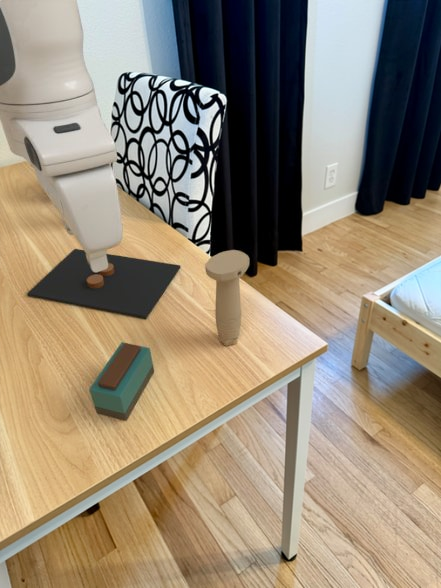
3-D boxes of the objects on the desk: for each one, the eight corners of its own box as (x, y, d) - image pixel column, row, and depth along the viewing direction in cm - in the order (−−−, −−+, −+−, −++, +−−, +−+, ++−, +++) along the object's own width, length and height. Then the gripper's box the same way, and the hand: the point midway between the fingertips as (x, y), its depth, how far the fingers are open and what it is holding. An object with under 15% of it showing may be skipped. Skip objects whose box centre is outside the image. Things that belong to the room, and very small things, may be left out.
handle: (253, 337, 69) (256, 259, 60) (224, 357, 66) (221, 278, 56) (233, 323, 72) (232, 246, 62) (203, 341, 68) (198, 263, 59)
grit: (96, 275, 83) (94, 270, 82) (103, 266, 85) (102, 261, 84) (109, 277, 82) (108, 272, 81) (117, 269, 84) (116, 264, 83)
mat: (27, 296, 79) (26, 293, 79) (75, 251, 91) (74, 248, 91) (146, 319, 73) (145, 316, 73) (180, 267, 85) (180, 265, 85)
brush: (96, 413, 58) (87, 385, 55) (127, 365, 65) (120, 337, 61) (126, 421, 57) (118, 393, 53) (154, 371, 64) (149, 343, 60)
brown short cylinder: (85, 287, 80) (83, 282, 79) (93, 278, 82) (92, 273, 81) (99, 290, 79) (98, 284, 78) (107, 280, 81) (106, 275, 80)
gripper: (0, 106, 47) (37, 219, 55) (44, 165, 33) (85, 304, 41) (58, 97, 49) (85, 207, 58) (122, 148, 35) (145, 283, 44)
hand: (85, 248), depth 49 cm, fingers open, 8 cm apart
